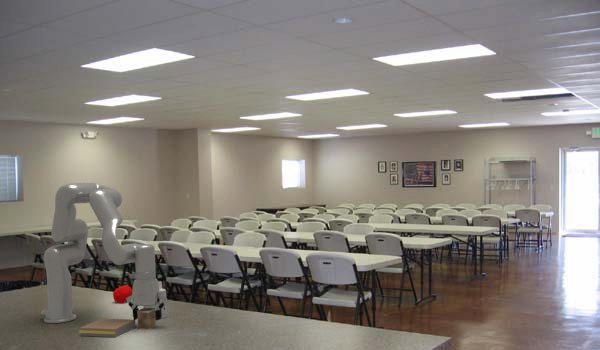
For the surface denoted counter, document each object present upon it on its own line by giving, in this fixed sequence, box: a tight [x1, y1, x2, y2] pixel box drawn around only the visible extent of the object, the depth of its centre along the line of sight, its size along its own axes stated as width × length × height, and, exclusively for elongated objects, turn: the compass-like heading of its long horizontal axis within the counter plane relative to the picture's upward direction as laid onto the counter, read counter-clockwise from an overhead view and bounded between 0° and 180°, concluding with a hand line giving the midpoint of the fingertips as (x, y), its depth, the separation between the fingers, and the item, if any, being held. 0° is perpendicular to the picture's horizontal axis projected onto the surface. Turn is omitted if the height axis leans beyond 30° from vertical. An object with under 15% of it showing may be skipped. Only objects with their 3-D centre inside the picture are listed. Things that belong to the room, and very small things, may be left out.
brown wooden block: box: [137, 308, 157, 330], centre depth 221 cm, size 5×5×7 cm
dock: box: [78, 318, 136, 338], centre depth 216 cm, size 15×14×3 cm
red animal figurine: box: [112, 284, 133, 304], centre depth 270 cm, size 8×8×8 cm
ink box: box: [142, 281, 167, 319], centre depth 236 cm, size 8×5×15 cm, turn 123°
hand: (147, 319), depth 221 cm, fingers open, 9 cm apart
